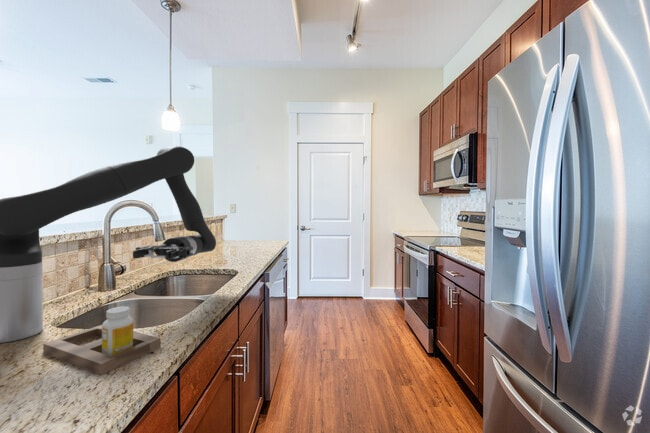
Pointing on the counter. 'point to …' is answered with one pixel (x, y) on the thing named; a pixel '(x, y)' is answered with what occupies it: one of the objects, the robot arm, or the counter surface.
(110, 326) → the supplement bottle
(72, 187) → the robot arm
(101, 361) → the brown flat two-opening frame
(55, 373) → the counter surface
